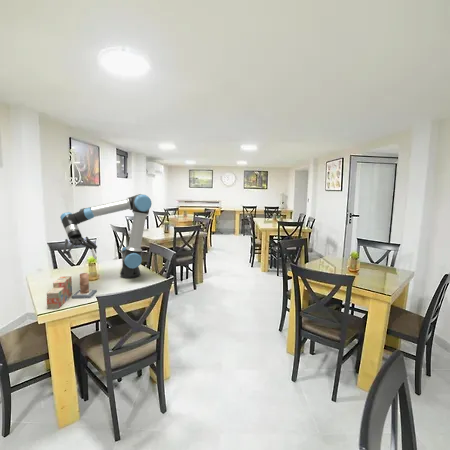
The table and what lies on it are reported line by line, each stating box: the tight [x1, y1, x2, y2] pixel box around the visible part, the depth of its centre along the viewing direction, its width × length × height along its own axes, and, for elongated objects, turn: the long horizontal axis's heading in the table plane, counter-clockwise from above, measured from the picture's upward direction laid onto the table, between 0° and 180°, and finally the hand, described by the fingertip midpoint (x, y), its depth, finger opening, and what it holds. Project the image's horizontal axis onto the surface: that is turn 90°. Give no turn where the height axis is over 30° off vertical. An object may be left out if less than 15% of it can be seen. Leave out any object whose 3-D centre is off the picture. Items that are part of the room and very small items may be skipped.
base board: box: [71, 289, 98, 300], centre depth 175 cm, size 11×11×2 cm
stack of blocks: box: [46, 275, 73, 310], centre depth 164 cm, size 21×6×12 cm, turn 11°
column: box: [79, 272, 90, 294], centre depth 175 cm, size 5×5×12 cm
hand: (85, 259), depth 171 cm, fingers open, 13 cm apart
